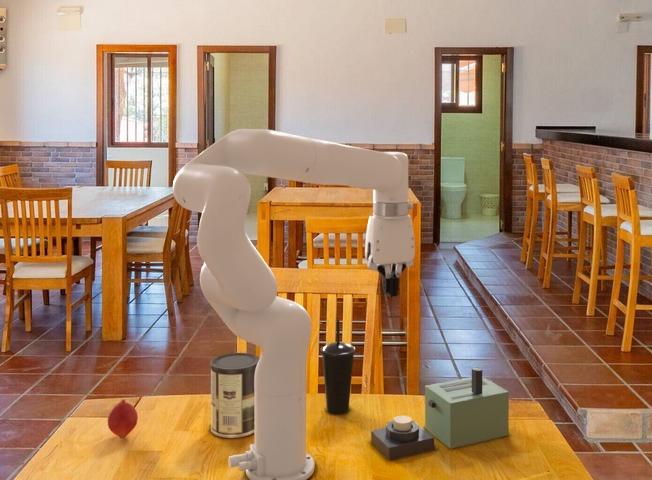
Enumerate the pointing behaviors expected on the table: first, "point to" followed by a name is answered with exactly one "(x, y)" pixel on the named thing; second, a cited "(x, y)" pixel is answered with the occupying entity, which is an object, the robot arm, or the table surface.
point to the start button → (402, 423)
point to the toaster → (466, 412)
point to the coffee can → (233, 395)
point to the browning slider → (476, 380)
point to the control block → (402, 441)
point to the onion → (122, 419)
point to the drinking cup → (337, 373)
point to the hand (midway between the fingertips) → (390, 295)
